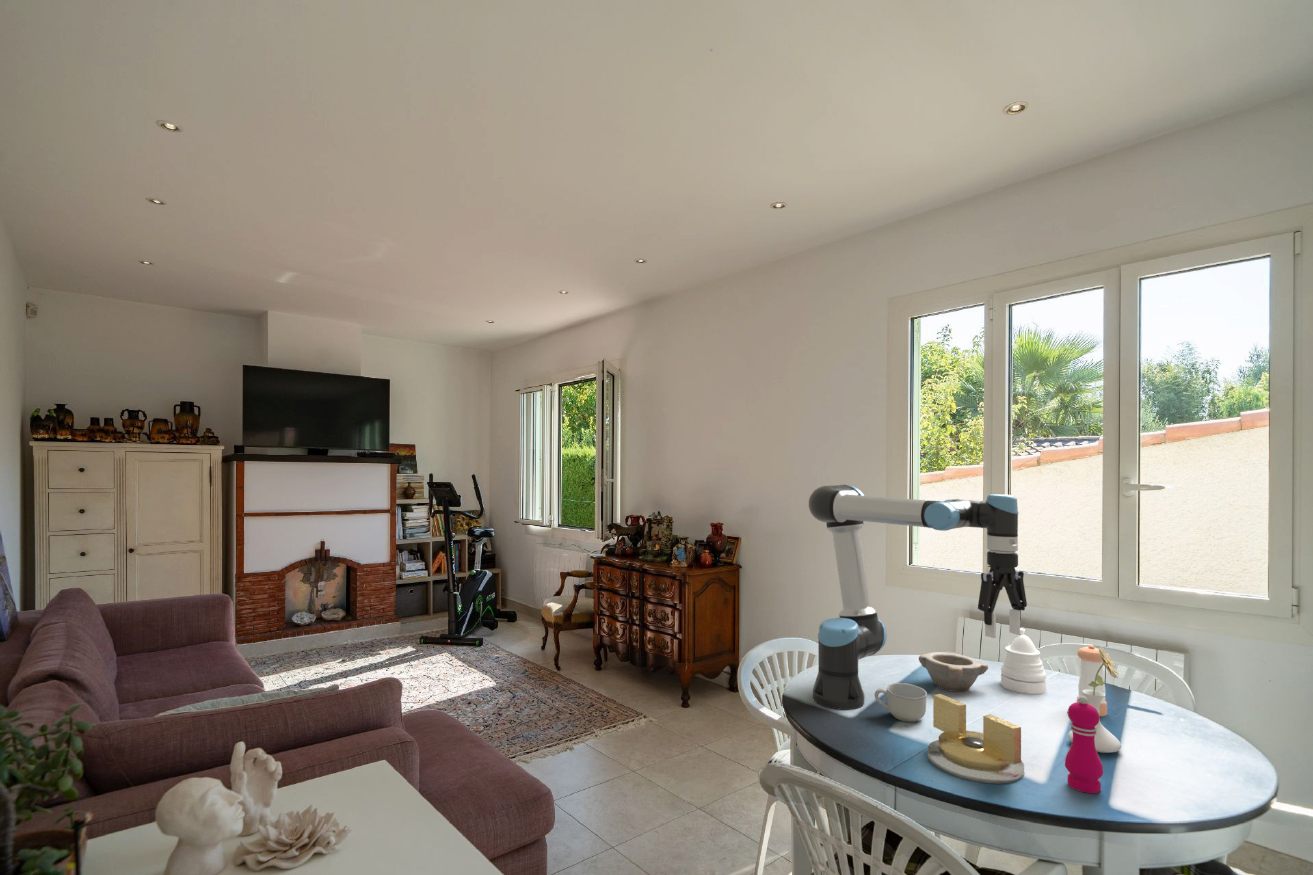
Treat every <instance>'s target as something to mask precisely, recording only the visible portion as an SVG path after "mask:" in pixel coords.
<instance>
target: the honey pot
mask: <svg viewBox="0 0 1313 875" xmlns="http://www.w3.org/2000/svg"><path fill="white" fill-rule="evenodd" d="M1025 633H1026V629H1025V628H1021V627H1020V635H1018V636H1016V637H1015V639H1013V641H1012V642H1011V645H1007V646H1005V647H1004V650H1005V652H1007V653H1006V655H1005V657H1004V661H1003V662H1002V663H1003V664H1002V665H1001V668H1000V672H1001V673H1000V684H1001V686H1002V687H1003V688H1005V689H1007V690H1010V691H1013V692H1017V693H1021V694H1030V695H1032V694H1033V695H1038V694H1039V695H1040V694H1045V693H1046V692H1047V672H1046V671H1045V668H1044V667H1045V666H1043V665H1044V664H1043V661H1042V660H1041V656H1040V655H1041V652H1040V650H1038V649H1037V648H1036V646H1035V644H1034V642H1033V641H1032V640H1031V638H1030V637H1029V636H1028V635H1025Z"/></svg>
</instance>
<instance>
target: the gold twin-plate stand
mask: <svg viewBox="0 0 1313 875" xmlns="http://www.w3.org/2000/svg"><path fill="white" fill-rule="evenodd" d="M932 696H933V699H932V700H933V704H932V705H933V709H932V710H933V711H932V712H933V715H932V716H933V717H932V718H933V720H932V722H933V723H932V724H933V725H932V726H933V728H936V729H937V730H939V731H941V733H940V734H939V735H938V739H937V740H938V748H939V751H940V753H941V754H942V755H943V756H945V757H946V758H948V759H949V760H951V761H954V762H956V763H959V764H961V765H965V766H968V767H973V768H978V769H988V770H996V769H1003V768H1007V767H1009V766H1010V765H1011V764H1013V765H1015V764H1019V763H1021V760H1022V727H1021V726H1020V725H1017V724H1014V723H1012V722H1010V721H1008V720H1004V719H1002V718H1000V717H998V716H995V715H992V714H987V715H982V716H983V717H982V721H983V725H982V726H983V728H982V730H983V731H982V732H979V731H973V730H967V704H966V703H964V702H961V701H958V700H956V699H953V698H952V697H949V696H947V695H944V694H942V693H937V694H933V695H932Z"/></svg>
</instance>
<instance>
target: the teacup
mask: <svg viewBox="0 0 1313 875" xmlns="http://www.w3.org/2000/svg"><path fill="white" fill-rule="evenodd" d="M881 693H883V694H884V696H885V698H886V702H884V701H882V700H881V699H880V698H879V694H881ZM927 696H928V692H927V691H926V690H925V689H924V688H922V687H920V686H917V685H914V684H911V683H905V682H896V683H895V682H894V683H890V684H888V685H887V686H886V689H884V688H878V689H876V690H875V692H874V699H875V701H876V702H877V703H878V704H879V705H880V706H882V707H883V708H884V709H885V710H886V711H888V712H889V713H890V714H891V715H892V716H893V717H894V718H895V719H897V720H899V721H902V722H907V723H908V722H909V723H910V722H911V723H914V722H918V721H919V720H920V719H922V718H923V717H924V716H925V714H926V711H927V710H926V709H927Z"/></svg>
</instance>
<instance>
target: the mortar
mask: <svg viewBox="0 0 1313 875" xmlns="http://www.w3.org/2000/svg"><path fill="white" fill-rule="evenodd" d="M918 662H919V663H920V665H921V666H922V667H923V668H925V670H927V671H926V672H928V675H929V676H930V679H931V680H932V682H933V683H934V685H935V686H936V687H938V688H939V689H942V690H945V691H949V692H950V691H951V692H965V691H968V690H970V688H972V686H973V685H974V684H975V682H976V681H977V679H978V677H979V676H982V675H984V674H985V673H986V672H987V671H988V669H989V665H988V664H987V663H986V662H983V661H980V660H977V659H975V658H973V657H971V656H968V655H963V654H959V653H956V652H954V651H934V652H927V653H924V654H923V653H922V654H920V655H919V656H918Z"/></svg>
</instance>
